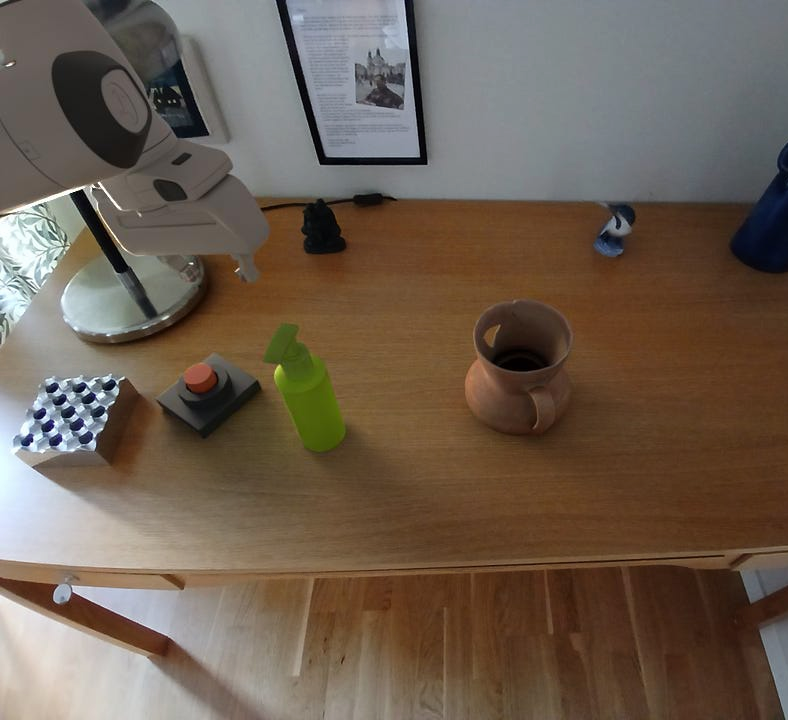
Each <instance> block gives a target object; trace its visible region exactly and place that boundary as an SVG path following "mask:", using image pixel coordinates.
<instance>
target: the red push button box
mask: <svg viewBox="0 0 788 720" xmlns="http://www.w3.org/2000/svg"><path fill="white" fill-rule="evenodd" d="M201 363H203V364H207V365H209V366H210V367H211V368H212V370H213V372H214V374H215V375H216V377H217V383H216V385H215V386H214V387H213V388H212V389H211V390H209V391H207V392H204V393H200V394H198V393H194V392H192V391H191V390H190V389H189V387H188V386H187V384H186V383H185V381H184V379H183V376H184V373H185V371H184V372H183V373H181V374H180V376H179V378H178V380H177V381H176V382H175V383H174V384H172V385H171V386H170V387H168V388H167V389H166V390H164V391H163V392H162V393H161V394H159V395H158V396H157V397H155V399H154V400H155V401H156V402H157V404H158V405H159V407H161V409H162V410H164V411H165V412H167V413H168V414H170V415H171V416H172V417H173V418H175V419H176V420H178V421H179V422H180V423H182V424H183V425H185V426H186V427H188V428H189V429H190V430H192V431H193V432H194V433H195V434H197V435H198V436H200V437H201V438H202V439H204V440H205V439H207V438H208V437H209V436H210V435H211V434H213V433H214V432H215V431H216V430H217V429H218V428H219V427H221V426H222V425H223V424H224V423H225V422H226V421H228V419H230V418H231V417H232V416H234V414H235V413H236V412H238V411H239V410H240V409H241V408H243V406H244V405H246V404H247V403H248V402H249V401H250V400H251V399H253V397H255V396H257V394H259V392H260V391H261V390H262V388H263V387H262V386H261V384H260V382H259V380H258V378H255V377H254V376H253V375H251V374H249V373H248V372H247V371H245V370H243V369H242V368H241V367H238V366H237V365H236V364H234V363H232V362H230V361H229V360H227V359H226V358H225V357H223V356H222V355H219V354H218V353H216V352H213V353H211V354H210V355H209V356H208V357H207V358H205V359H204V360H203V361H201Z"/></svg>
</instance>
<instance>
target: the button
mask: <svg viewBox="0 0 788 720" xmlns="http://www.w3.org/2000/svg"><path fill="white" fill-rule="evenodd" d="M184 372H185V373H184ZM184 372H183V373H184V376H183V379H184V381H185V383H186V384H187V386H188V387H189V389H190V390H191V391H192V392H194V393H198V394H200V393H204V392H207V391H209V390H211V389H212V388H213V387H214V386H215V385H216V383H217V377H216V375H215V374H214V372H213V370H212V368H211V367H210V366H209V365H207V364H203V363H202V362H200V363H195V364H193V365H191V366H189V367H187V369H186V370H185V371H184Z"/></svg>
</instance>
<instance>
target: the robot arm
mask: <svg viewBox="0 0 788 720" xmlns="http://www.w3.org/2000/svg"><path fill="white" fill-rule="evenodd" d="M0 52H1V53H2V55H3V60H2V62H1V64H0V65H1V66H2V67H1V68H0V221H1V220H4V219H6V218H8V217H11V216H12V215H15V214H18V213H19V212H22V211H23V210H24V209H27V208H30V207H33V206H36V205H39V204H42V203H44V202H47V201H51V200H54V199H57V198H59V197H62V196H65V195H69V194H70V193H73V192H76V191H80V190H82V189H84V188H86V187H90V194H91V196H92V197H93V199H94V200H95V201H96V209H97V211H98V213H99V216H100V217H101V218H102V220H103V222H104V223H105V225H106V227H107V228H108V229H109V230H110V232H111V234H112V235H113V236H114V238H115V239H116V241H117V242H118V243H119V244H120V246H121V247H122V248H123V249H124V251H126V252H128V253H129V254H130V255H132V256H134V257H146V256H147V257H156V259H157V260H158V261H159V262H160V263H161V264H163V265H164V266H165V267H167V268H169V269H170V270H171V271H173V272H174V273H176V274H177V275H178V277H179V278H180V279H181V281H182V282H184V283H196V281H197V280H198V279H200V277H201V275H202V273H201V271H200V270H199V269H198V267H197V265H196V264H195V263H194V262H189V261H188V260H186V258H184V256H206V255H207V256H209V255H210V256H212V255H216V256H217V255H229V256H230V258H231V259H232V260H233V261H237V265H238V268H237V269H236V270H235V271H234V272H235V274H236V276H237V277H238V278H239V280H240V282H242V283H251V284H252V283H255V282H256V281H257V280H258V279H259V277H260V276H261V275H260V271H259V269H258V268H257V266H256V264H255V263H254V262H255V256H254V255H255V253H257V252H258V251H259V250H260V249H261V248H262V247H263V246H264V245H265V243H266V242H267V241H268V239H270V235H271V234H270V233H271V228H270V227H271V226H270V224H269V221H268V220H267V218H266V216H265V214H264V213H263V211H262V209H261V207H260V206H259V205H258V202H257V201H256V200H255V198H254V196H253V195H252V192H250V190H249V189H248V187H247V186H246V184H244V182H243V181H242V180H241V179H239V178H238V177H237V176H235V175H234V174H231V173H230V172H231V171H232V170H233V168H234V165H233V162H232V160H231V158H230V157H229V155H228V153H226V152H225V151H224V150H222V149H219V148H216V147H215V148H214V147H211V146H207V145H203V144H199V143H196V142H194V141H190V140H187V139H185V138H182V137H177V135H176V133H175V132H174V131H173V129H172V127H171V125H170V124H169V123H168V122H167V121H166V120H165V119H164V118H163V117H162V116H161V115H160V114H159V113H158V112H157V111H156V109H155V108H154V107H153V105H152V104H151V101H150V100H149V97H148V94H147V90H146V88H145V85H144V83H143V81H142V80H141V78H140V76H139V75H138V74H137V72H136V70H135V69H134V68H133V66H132V65H131V63H130V62H129V61H128V58H127V57H126V55H125V54H124V53H123V51H122V50H121V48H119V45H118V44H117V43H116V42H115V40H114V39H113V37H112V36H111V35H110V34H109V32H108V31H107V29H106V28H105V27H104V26H103V24H101V22H100V20H99V19H97V17H96V16H95V15H94V14H93V12H92V11H91V10H90V8H89V7H88V6H87V5H86V4H85V3H84V2H83V1H82V0H5V1H2V2H0Z"/></svg>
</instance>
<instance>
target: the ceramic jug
mask: <svg viewBox="0 0 788 720" xmlns="http://www.w3.org/2000/svg"><path fill="white" fill-rule="evenodd" d="M497 326H498V327H497ZM494 327H497V329H496V330H495V332H494V336H493V339H492V342H491V346H490V345H489V344H488V342H487V341H486V339H485V338H484V337H485V335H486V333H487V331H489V330H490V329H492V328H494ZM573 333H574V332H573V329H572V326H571V324H570V322H569V320H568V319H567V317H566V316H565V315H564V314H563V313H562V312H560V310H558V309H557V308H555V307H553V306H551V305H549V304H548V303H544V302H542V301H539V300H534V299H529V298H517V299H514V300H513V301H508V300H504V301H501V302H497V303H495V304H494V305H491V306H490V307H488V308H487V309H485V310H484V311H483V312H482V313H481V315H480V316H479V317H478V319H477V321H476V323H475V325H474V328H473V335H472V337H473V345H474V349H475V353H476V355H477V359H475V361H474V362H473V363H472V365H471V366H470V368H469V370H468V372H467V373H466V377H465V381H464V395H465V400H466V403H467V405H468V407H469V409H470V411H471V413H472V414H473V415H474V416H475V418H476V419H477V420H478V421H479V422H481V424H483V425H484V426H486V427H487V428H488V429H490V430H492V431H495V432H496V433H499V434H502V435H505V436H512V437H531V436H540V435H542V434H543V433H545V432H546V431H547V430H549V429H551V428H552V427H554V426H555V425H556V424H557V423H558V422H560V421H561V420H562V418H563V417H564V415H566V412H567V411H568V408H569V406H570V403H571V399H572V385H571V381H570V377H569V375H568V373H567V371H566V369H565V368H564V365H565V364H566V362H567V360H568V358H569V356H570V353H571V351H572V348H573V344H574V334H573Z"/></svg>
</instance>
